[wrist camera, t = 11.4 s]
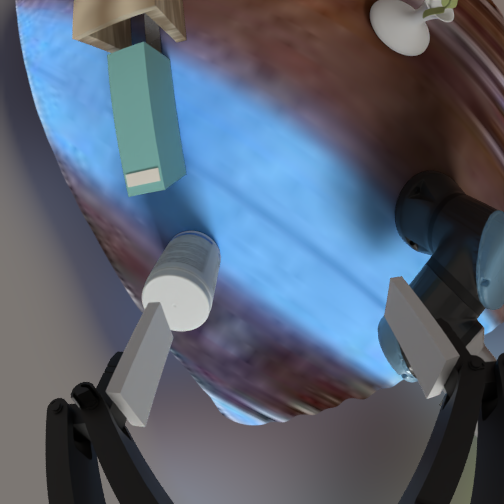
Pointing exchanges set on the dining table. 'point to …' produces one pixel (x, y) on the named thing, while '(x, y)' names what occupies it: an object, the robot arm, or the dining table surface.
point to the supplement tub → (184, 280)
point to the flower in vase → (408, 23)
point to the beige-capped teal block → (145, 119)
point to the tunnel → (123, 21)
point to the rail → (152, 33)
